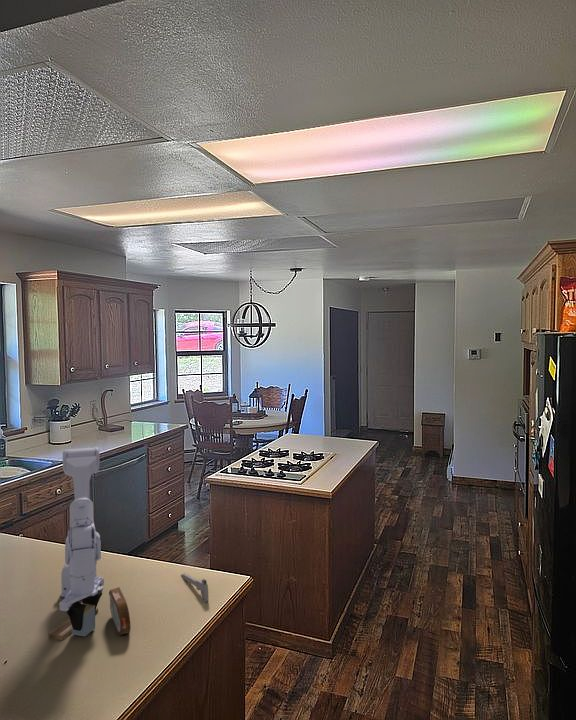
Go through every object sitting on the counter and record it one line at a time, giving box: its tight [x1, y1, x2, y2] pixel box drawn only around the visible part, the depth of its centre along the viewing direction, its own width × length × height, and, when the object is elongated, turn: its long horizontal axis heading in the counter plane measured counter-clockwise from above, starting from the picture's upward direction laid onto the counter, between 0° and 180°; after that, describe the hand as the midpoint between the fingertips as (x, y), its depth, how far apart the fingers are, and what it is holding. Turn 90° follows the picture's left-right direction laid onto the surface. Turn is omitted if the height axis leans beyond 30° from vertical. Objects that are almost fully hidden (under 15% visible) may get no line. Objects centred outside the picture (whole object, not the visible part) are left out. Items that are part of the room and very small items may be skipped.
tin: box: [108, 586, 131, 636], centre depth 136 cm, size 15×3×8 cm, turn 29°
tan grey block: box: [71, 602, 96, 637], centre depth 133 cm, size 4×4×6 cm
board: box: [48, 607, 99, 641], centre depth 137 cm, size 4×14×1 cm, turn 163°
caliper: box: [180, 572, 209, 603], centre depth 157 cm, size 20×1×6 cm, turn 31°
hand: (83, 624), depth 133 cm, fingers closed on tan grey block, 4 cm apart
